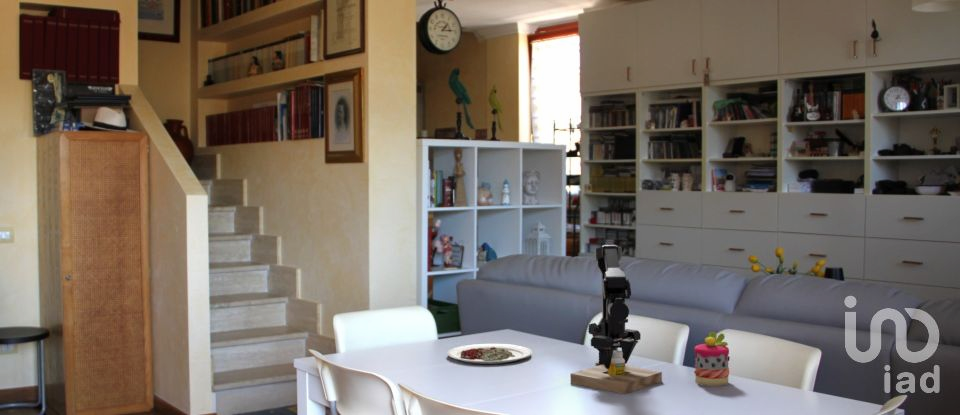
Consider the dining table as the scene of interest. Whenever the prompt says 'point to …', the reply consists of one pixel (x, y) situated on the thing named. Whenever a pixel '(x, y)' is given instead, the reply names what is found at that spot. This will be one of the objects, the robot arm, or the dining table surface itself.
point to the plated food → (489, 353)
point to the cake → (712, 361)
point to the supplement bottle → (617, 364)
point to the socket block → (616, 379)
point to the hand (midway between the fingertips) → (616, 366)
